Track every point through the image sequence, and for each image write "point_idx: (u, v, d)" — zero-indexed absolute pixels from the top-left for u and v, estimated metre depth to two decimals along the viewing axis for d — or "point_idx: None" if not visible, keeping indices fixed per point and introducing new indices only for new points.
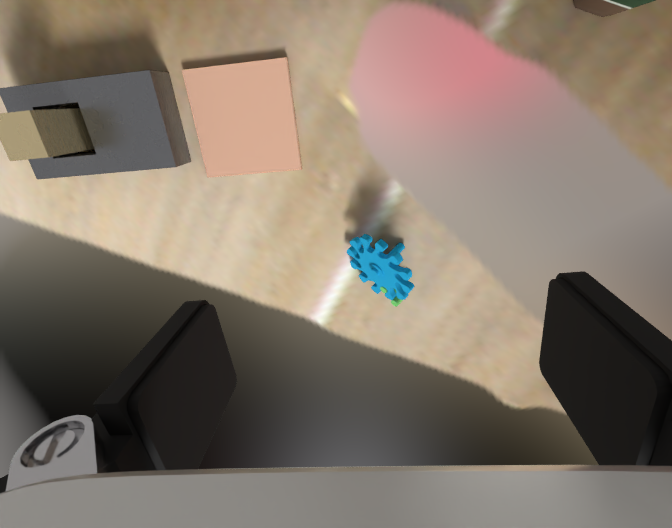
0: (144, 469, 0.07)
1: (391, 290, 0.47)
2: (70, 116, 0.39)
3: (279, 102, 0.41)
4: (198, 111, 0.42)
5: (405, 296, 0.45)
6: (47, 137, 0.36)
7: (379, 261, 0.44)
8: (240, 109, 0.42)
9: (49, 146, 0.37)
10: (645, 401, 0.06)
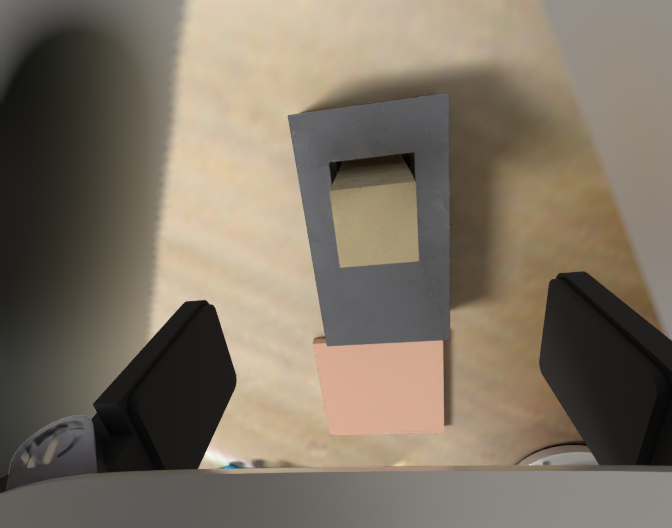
0: (144, 469, 0.07)
1: None
2: None
3: (400, 423, 0.37)
4: (394, 346, 0.33)
5: None
6: None
7: None
8: (395, 388, 0.35)
9: None
10: (645, 401, 0.06)
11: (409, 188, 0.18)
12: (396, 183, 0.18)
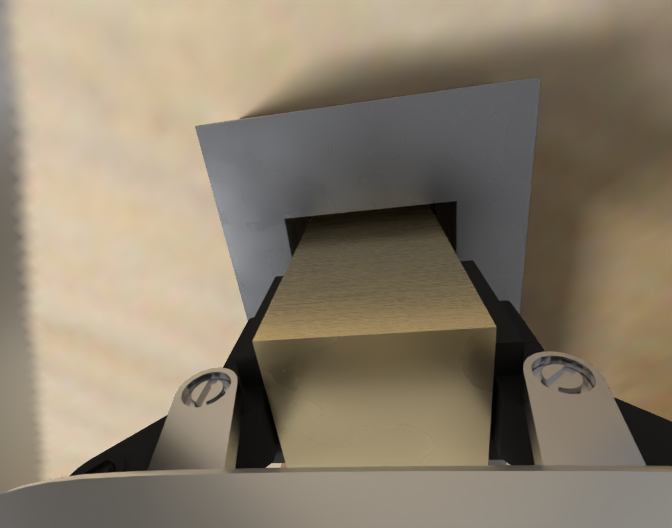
0: (271, 418, 0.08)
1: None
2: None
3: None
4: None
5: None
6: None
7: None
8: None
9: None
10: None
11: (476, 343, 0.06)
12: (439, 328, 0.06)
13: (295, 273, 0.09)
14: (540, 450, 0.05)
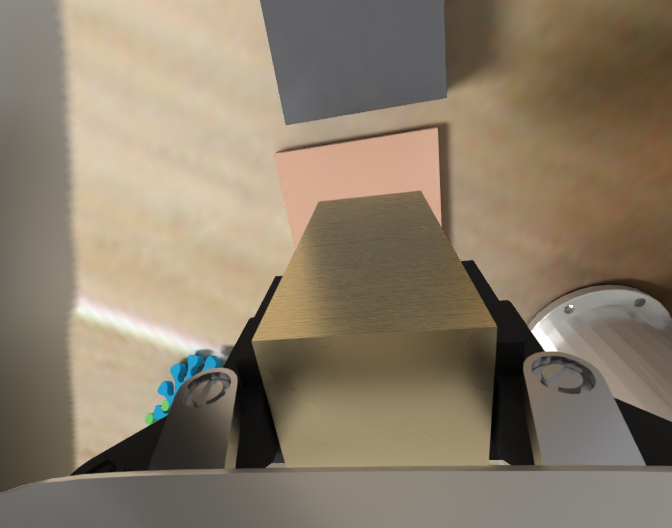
0: (271, 418, 0.08)
1: None
2: None
3: None
4: (376, 149, 0.26)
5: None
6: None
7: None
8: None
9: None
10: None
11: (476, 342, 0.06)
12: (439, 328, 0.06)
13: (295, 273, 0.09)
14: (540, 450, 0.05)
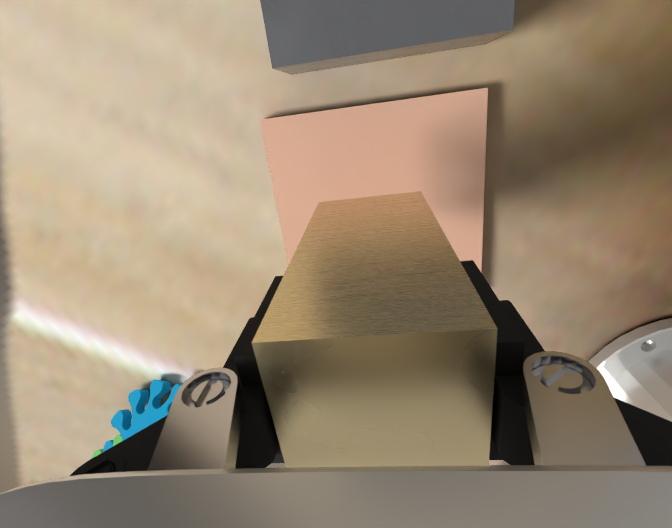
0: (271, 418, 0.08)
1: None
2: None
3: None
4: (400, 116, 0.19)
5: None
6: None
7: None
8: None
9: None
10: None
11: (477, 344, 0.06)
12: (439, 330, 0.06)
13: (295, 274, 0.09)
14: (540, 450, 0.05)
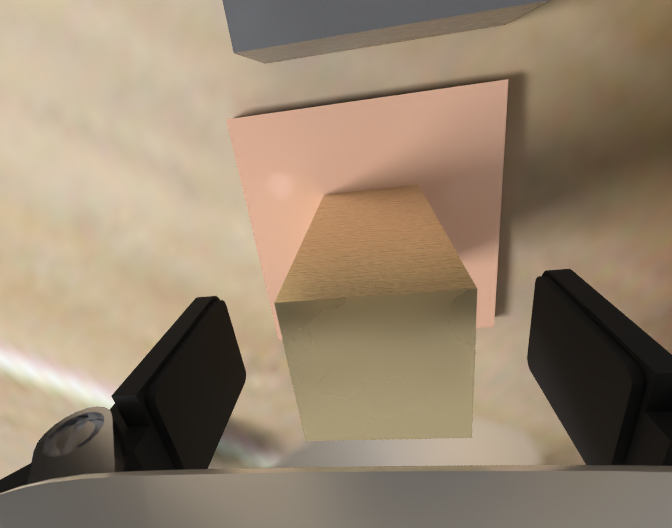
0: (160, 460, 0.07)
1: None
2: None
3: None
4: (399, 115, 0.15)
5: None
6: None
7: None
8: None
9: None
10: (622, 393, 0.06)
11: (461, 302, 0.08)
12: (430, 290, 0.08)
13: (306, 252, 0.11)
14: None
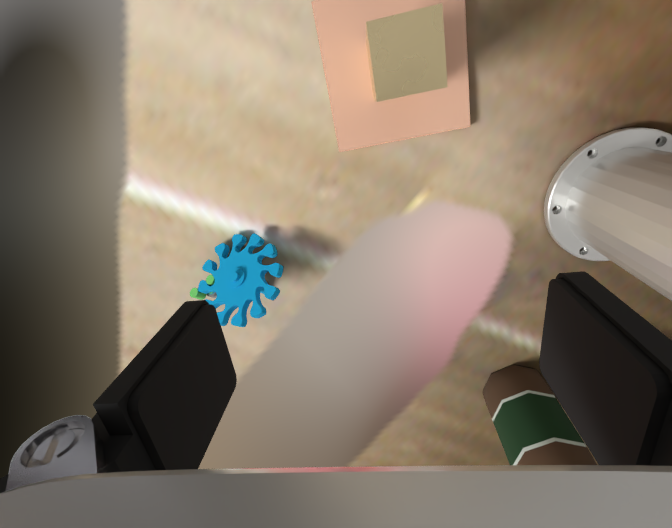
0: (144, 469, 0.07)
1: (210, 290, 0.38)
2: None
3: (419, 119, 0.32)
4: None
5: None
6: None
7: (250, 286, 0.36)
8: None
9: None
10: (645, 401, 0.06)
11: (437, 11, 0.21)
12: (425, 7, 0.21)
13: None
14: None
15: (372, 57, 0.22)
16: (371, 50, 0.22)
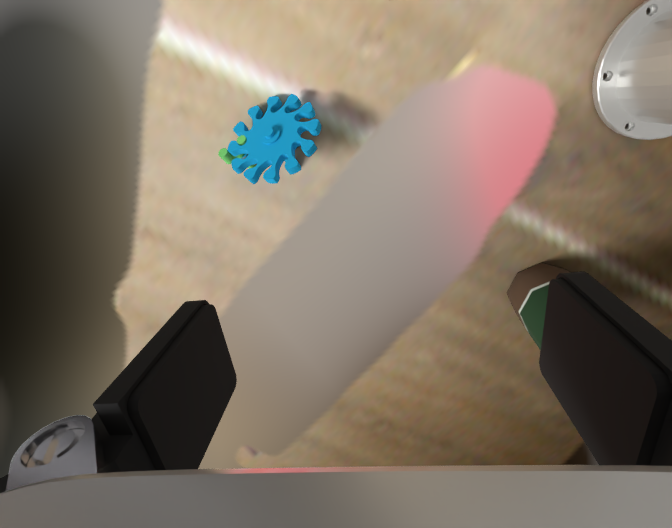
0: (144, 469, 0.07)
1: (241, 151, 0.37)
2: None
3: None
4: None
5: (236, 170, 0.36)
6: None
7: (285, 142, 0.35)
8: None
9: None
10: (645, 401, 0.06)
11: None
12: None
13: None
14: None
15: None
16: None
